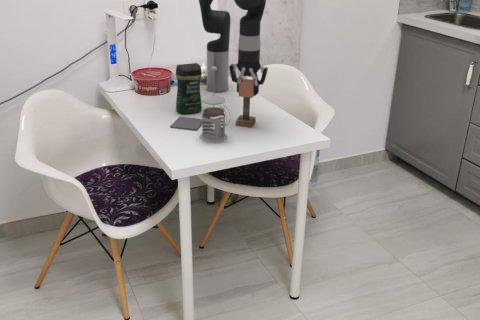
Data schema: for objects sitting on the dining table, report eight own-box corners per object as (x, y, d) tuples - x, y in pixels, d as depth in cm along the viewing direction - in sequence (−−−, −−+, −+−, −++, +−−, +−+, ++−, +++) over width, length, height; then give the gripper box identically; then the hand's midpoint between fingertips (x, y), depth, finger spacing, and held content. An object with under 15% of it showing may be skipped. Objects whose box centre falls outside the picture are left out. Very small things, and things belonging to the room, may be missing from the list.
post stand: (239, 119, 200) (240, 91, 195) (255, 121, 198) (256, 93, 193) (235, 125, 194) (236, 96, 189) (251, 127, 193) (253, 98, 188)
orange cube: (238, 96, 190) (238, 82, 187) (242, 91, 194) (242, 78, 192) (252, 98, 188) (252, 84, 186) (255, 93, 193) (256, 80, 190)
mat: (179, 117, 200) (179, 116, 199) (205, 120, 198) (205, 119, 197) (170, 127, 191) (170, 126, 191) (196, 130, 189) (196, 129, 189)
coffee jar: (180, 116, 201) (179, 68, 193) (173, 109, 208) (172, 62, 200) (204, 112, 205) (204, 65, 197) (196, 106, 212) (196, 60, 204)
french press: (212, 129, 191) (212, 60, 180) (237, 138, 184) (239, 67, 173) (193, 137, 184) (192, 66, 173) (218, 146, 177) (219, 73, 166)
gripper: (226, 48, 182) (225, 95, 190) (267, 51, 179) (265, 99, 187) (231, 43, 189) (230, 89, 196) (271, 46, 186) (269, 92, 193)
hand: (247, 93), depth 191 cm, fingers closed on orange cube, 5 cm apart
